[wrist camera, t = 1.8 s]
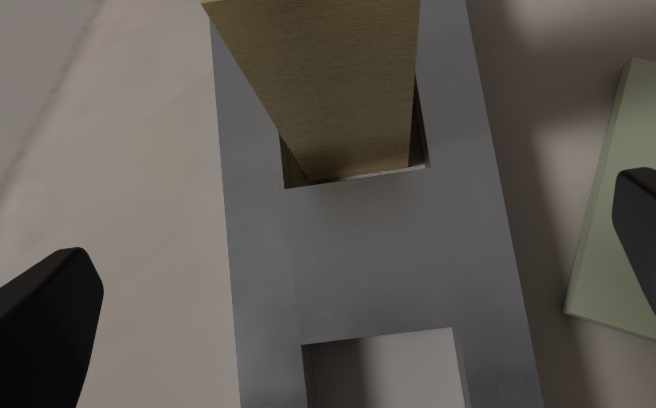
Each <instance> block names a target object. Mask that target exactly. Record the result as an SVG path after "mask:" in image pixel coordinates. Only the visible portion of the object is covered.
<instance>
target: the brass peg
mask: <svg viewBox="0 0 656 408" xmlns="http://www.w3.org/2000/svg"><path fill="white" fill-rule="evenodd" d="M420 4H421V0H201V5H202V6H203V8H204V10H205V11H206V13H207V15H208V16H209V18H210V19H211V21H212V23H213V24H214V26H215V28H216V29H217V31H218V33H219V34H220V36H221V38H222V39H223V41H224V43H225V44H226V46H227V47H228V49H229V51H230V52H231V54H232V56H233V57H234V59H235V61H236V62H237V64H238V66H239V67H240V69H241V70H242V72H243V74H244V75H245V77H246V79H247V80H248V82H249V84H250V85H251V87H252V89H253V90H254V92H255V94H256V95H257V97H258V98H259V100H260V102H261V103H262V105H263V107H264V108H265V110H266V112H267V113H268V115H269V117H270V118H271V120H272V121H273V123H274V125H275V126H276V128H277V130H278V131H279V133H280V135H281V136H282V138H283V140H284V141H285V143H286V145H287V146H288V148H289V149H290V151H291V153H292V154H293V156H294V158H295V159H296V161H297V163H298V164H299V166H300V168H301V169H302V171H303V172H304V174H305V176H306V177H307V179H308V181H309V182H312V181H319V180H326V179H332V178H339V177H346V176H353V175H359V174H366V173H373V172H380V171H387V170H393V169H400V168H407V167H408V158H409V145H410V132H411V119H412V106H413V94H414V81H415V68H416V55H417V42H418V29H419V16H420Z"/></svg>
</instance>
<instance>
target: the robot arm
mask: <svg viewBox="0 0 656 408" xmlns="http://www.w3.org/2000/svg"><path fill="white" fill-rule="evenodd" d="M612 223H613V227H614V229H615V231H616V234H617V236H618V238H619V240H620V242H621V245H622V247H623V249H624V251H625V254H626V256H627V258H628V260H629V262H630V265H631V267H632V269H633V271H634V273H635V276H636V278H637V280H638V282H639V285H640V287H641V289H642V291H643V293H644V295H645V297H646V299H647V301H648V303H649V305H650V307H651V309H652V310H653V312H654V314H655V316H656V170H655V169H652V168H649V167H639V168H632V169H625V170H622V171H620V172H619V173H618V175H617V177H616V182H615V190H614V198H613V205H612ZM103 295H104V289H103V284H102V281H101V279H100V277H99V275H98V273H97V271H96V269H95V267H94V265H93V263H92V261H91V259H90V257H89V255H88V253H87V252H86V251H85V250H84V249H83V248H80V247H74V248H67V249H60V250H57V251H55V252H54V253H52V254H51V255H49V256H48V257H46V258H45V259H43V260H42V261H40V262H39V263H37V264H35V265H34V266H32V267H31V268H29V269H28V270H26V271H25V272H23V273H22V274H20V275H19V276H17V277H16V278H14V279H13V280H11V281H10V282H8V283H7V284H5V285H4V286H2V287H1V288H0V408H76V406H77V403H78V399H79V396H80V393H81V390H82V387H83V384H84V381H85V378H86V374H87V371H88V367H89V363H90V358H91V354H92V349H93V344H94V339H95V334H96V330H97V325H98V320H99V315H100V311H101V306H102V301H103Z"/></svg>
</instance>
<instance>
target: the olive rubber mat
mask: <svg viewBox="0 0 656 408" xmlns="http://www.w3.org/2000/svg"><path fill="white" fill-rule="evenodd" d="M639 167H649V168H652V169H655V170H656V61H651V60H647V59H642V58H638V57H634V56H633V57H632V58H631V59H630V60H629V61H628V62H627V63H626V64H625V66H624V67H623V68H622V71H621V75H620V80H619V84H618V88H617V92H616V96H615V100H614V104H613V108H612V112H611V116H610V120H609V124H608V128H607V132H606V136H605V140H604V144H603V148H602V152H601V156H600V160H599V164H598V168H597V172H596V176H595V180H594V184H593V188H592V192H591V196H590V200H589V204H588V208H587V212H586V216H585V220H584V224H583V228H582V232H581V236H580V240H579V244H578V248H577V252H576V257H575V261H574V265H573V269H572V273H571V277H570V281H569V285H568V289H567V293H566V297H565V301H564V305H563V309H562V313H563V314H566V315H569V316H573V317H576V318H579V319H582V320H585V321H589V322H592V323H595V324H598V325H602V326H605V327H608V328H611V329H614V330H618V331H621V332H624V333H627V334H631V335H634V336H637V337H640V338H644V339H647V340H650V341H653V342H656V316H655V314H654V312H653V310H652V309H651V307H650V305H649V303H648V301H647V299H646V297H645V295H644V293H643V291H642V289H641V287H640V285H639V282H638V280H637V278H636V276H635V273H634V271H633V269H632V267H631V265H630V262H629V260H628V258H627V256H626V254H625V251H624V249H623V247H622V245H621V242H620V240H619V238H618V236H617V234H616V231H615V229H614V227H613V223H612V205H613V198H614V190H615V182H616V177H617V175H618V173H619V172H620V171H622V170H625V169H632V168H639Z"/></svg>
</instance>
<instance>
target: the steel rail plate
mask: <svg viewBox="0 0 656 408" xmlns="http://www.w3.org/2000/svg"><path fill="white" fill-rule="evenodd" d="M210 31H211V43H212V56H213V68H214V81H215V93H216V105H217V118H218V130H219V143H220V155H221V167H222V180H223V192H224V205H225V217H226V230H227V242H228V254H229V267H230V279H231V292H232V304H233V317H234V329H235V341H236V354H237V366H238V379H239V391H240V403H241V408H317V407H316V398H315V389H314V379H313V370H312V361H311V352H310V344H312V343H320V342H329V341H337V340H345V339H353V338H362V337H370V336H378V335H386V334H395V333H403V332H411V331H419V330H428V329H436V328H444V327H452V329H453V335H454V341H455V347H456V353H457V359H458V365H459V371H460V377H461V383H462V389H463V395H464V401H465V407H466V408H545V407H544V402H543V397H542V392H541V386H540V381H539V376H538V371H537V366H536V361H535V356H534V351H533V345H532V340H531V335H530V330H529V325H528V320H527V315H526V310H525V304H524V299H523V294H522V289H521V284H520V279H519V274H518V269H517V263H516V258H515V253H514V248H513V243H512V238H511V233H510V228H509V223H508V217H507V212H506V207H505V202H504V197H503V192H502V187H501V182H500V176H499V171H498V166H497V161H496V156H495V151H494V146H493V141H492V135H491V130H490V125H489V120H488V115H487V110H486V105H485V100H484V94H483V89H482V84H481V79H480V74H479V69H478V64H477V59H476V53H475V48H474V43H473V38H472V33H471V28H470V23H469V18H468V12H467V7H466V2H465V0H421V4H420V16H419V29H418V42H417V55H416V68H415V81H414V99H415V105H416V111H417V117H418V123H419V129H420V135H421V141H422V147H423V153H424V159H425V166H426V169H420V170H413V171H406V172H399V173H393V174H386V175H379V176H372V177H365V178H358V179H352V180H345V181H338V182H331V183H324V184H318V185H311V186H304V187H297V188H293V187H292V178H291V169H290V159H289V150H288V146H287V145H286V143H285V141H284V140H283V138H282V136H281V135H280V133H279V131H278V130H277V128H276V126H275V125H274V123H273V121H272V120H271V118H270V117H269V115H268V113H267V112H266V110H265V108H264V107H263V105H262V103H261V102H260V100H259V98H258V97H257V95H256V94H255V92H254V90H253V89H252V87H251V85H250V84H249V82H248V80H247V79H246V77H245V75H244V74H243V72H242V70H241V69H240V67H239V66H238V64H237V62H236V61H235V59H234V57H233V56H232V54H231V52H230V51H229V49H228V47H227V46H226V44H225V43H224V41H223V39H222V38H221V36H220V34H219V33H218V31H217V29H216V28H215V26H214V24H213V23H212V21H211V19H210Z"/></svg>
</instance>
